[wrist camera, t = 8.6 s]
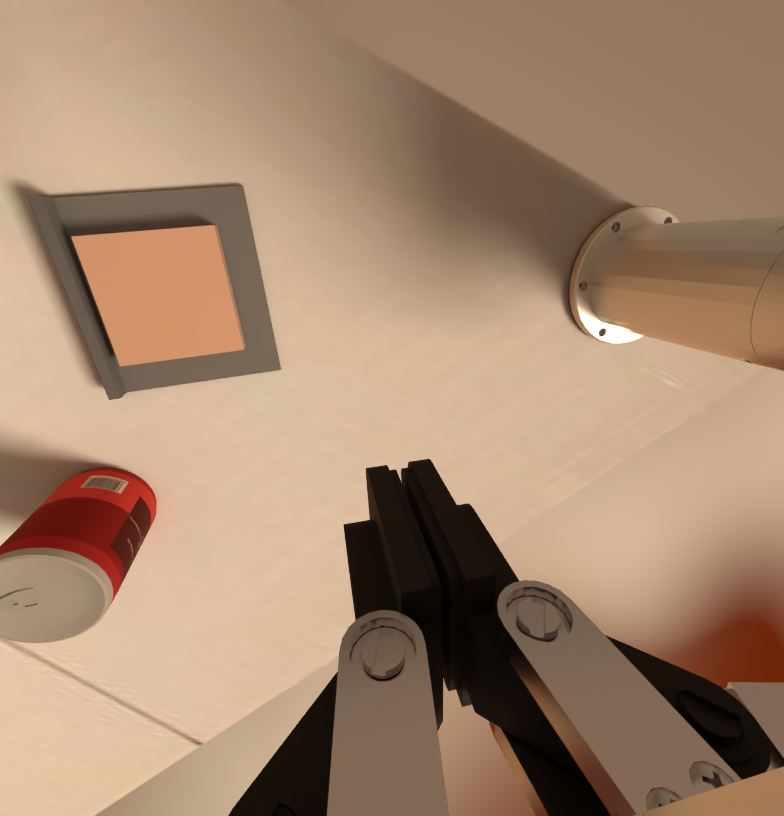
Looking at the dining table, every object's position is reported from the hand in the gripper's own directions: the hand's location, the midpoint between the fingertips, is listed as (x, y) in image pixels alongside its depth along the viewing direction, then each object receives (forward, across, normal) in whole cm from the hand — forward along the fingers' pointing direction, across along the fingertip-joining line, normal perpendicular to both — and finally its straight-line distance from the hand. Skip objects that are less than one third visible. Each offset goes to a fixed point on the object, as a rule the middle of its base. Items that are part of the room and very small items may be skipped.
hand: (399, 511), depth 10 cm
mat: (+26, +12, -4) cm, 29 cm away
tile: (+25, +8, -4) cm, 26 cm away
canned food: (+26, +22, +14) cm, 36 cm away
